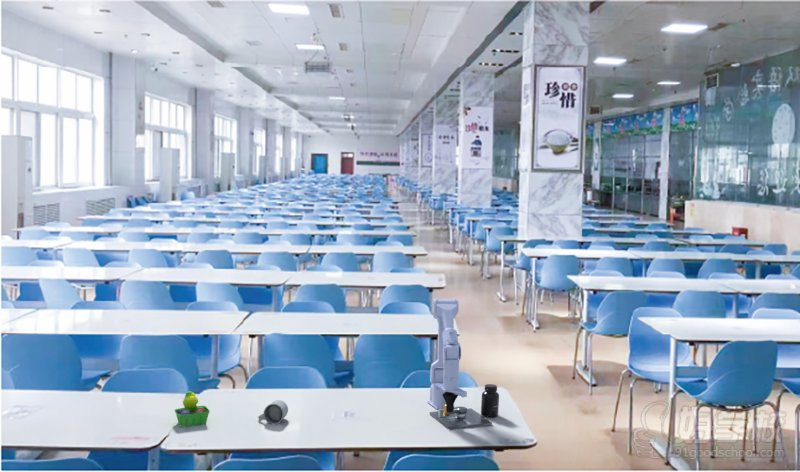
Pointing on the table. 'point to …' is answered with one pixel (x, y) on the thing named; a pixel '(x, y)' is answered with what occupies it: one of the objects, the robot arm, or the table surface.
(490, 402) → the supplement bottle
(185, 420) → the fruit basket
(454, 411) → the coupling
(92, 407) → the table surface
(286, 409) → the ceramic mug
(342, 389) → the table surface
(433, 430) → the table surface
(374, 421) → the table surface
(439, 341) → the robot arm
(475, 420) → the base
